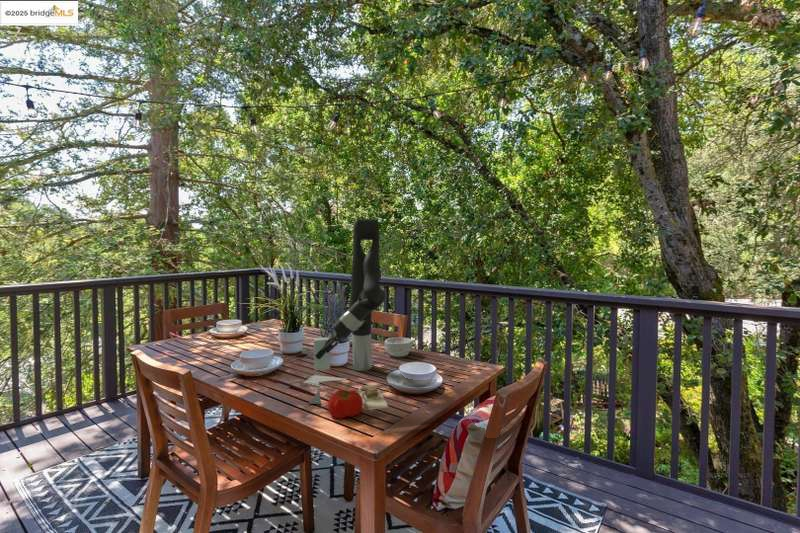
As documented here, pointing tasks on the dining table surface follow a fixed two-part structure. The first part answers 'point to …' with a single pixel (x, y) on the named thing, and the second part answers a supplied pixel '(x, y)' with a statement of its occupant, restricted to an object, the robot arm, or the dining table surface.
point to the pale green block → (325, 359)
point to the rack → (373, 401)
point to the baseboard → (320, 379)
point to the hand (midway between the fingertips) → (317, 356)
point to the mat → (316, 399)
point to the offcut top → (370, 389)
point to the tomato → (345, 404)
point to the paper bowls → (398, 346)
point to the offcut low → (370, 394)
